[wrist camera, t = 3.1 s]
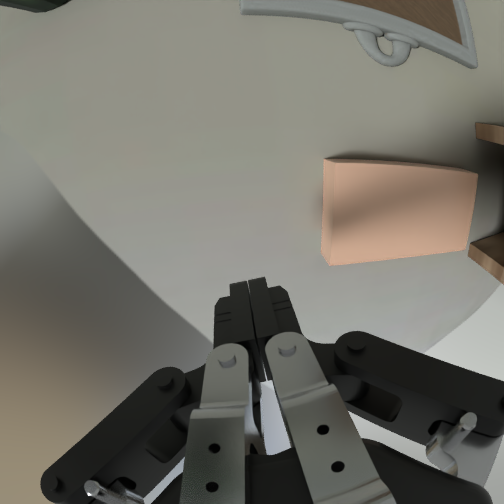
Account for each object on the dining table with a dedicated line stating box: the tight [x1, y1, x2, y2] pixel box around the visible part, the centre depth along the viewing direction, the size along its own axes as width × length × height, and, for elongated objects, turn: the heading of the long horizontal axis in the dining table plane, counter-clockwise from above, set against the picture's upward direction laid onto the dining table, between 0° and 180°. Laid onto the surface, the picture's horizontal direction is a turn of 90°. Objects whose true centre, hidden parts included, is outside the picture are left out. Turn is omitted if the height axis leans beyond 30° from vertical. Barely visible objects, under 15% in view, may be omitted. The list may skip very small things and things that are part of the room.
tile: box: [321, 159, 478, 266], centre depth 17 cm, size 13×6×2 cm, turn 93°
